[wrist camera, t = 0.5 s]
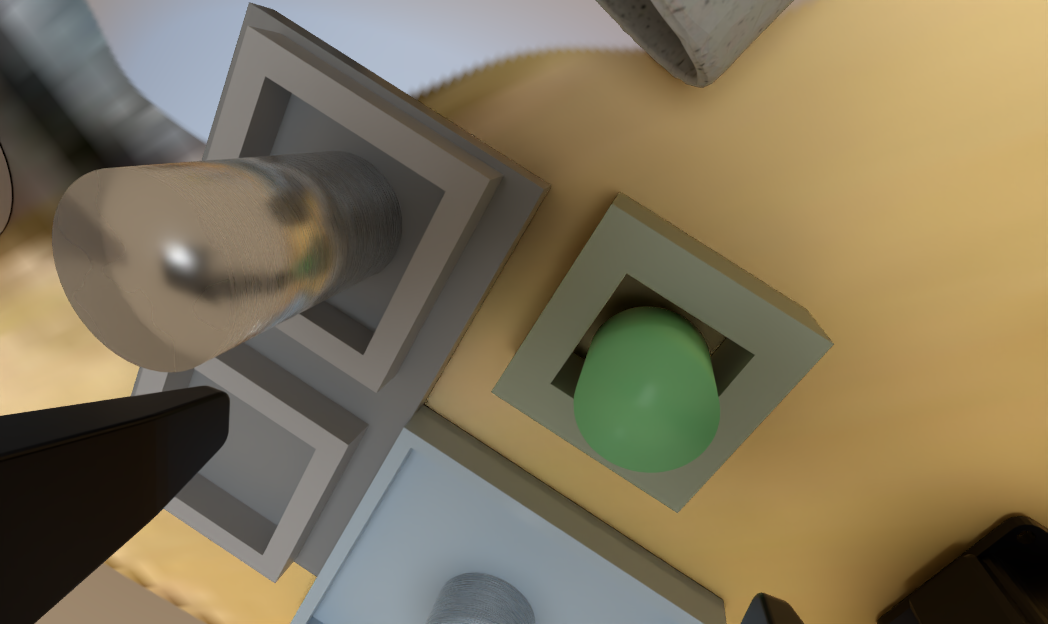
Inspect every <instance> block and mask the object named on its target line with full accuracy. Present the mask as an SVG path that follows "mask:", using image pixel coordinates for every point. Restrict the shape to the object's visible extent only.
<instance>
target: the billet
mask: <svg viewBox="0 0 1048 624" xmlns="http://www.w3.org/2000/svg"><path fill="white" fill-rule="evenodd" d="M425 624H535V616H534V612H533V610H532V607H531V605H530V604H529V602H528V601H527V599H526V598H525V597H524V595H523V594H522V593H521V592H520V591H519V590H518V589H516V588H515V587H514V586H513V585H511V584H510V583H508V582H506V581H505V580H503V579H501V578H498V577H496V576H493V575H489V574H485V573H475V572H472V573H464V574H460V575H457V576H455V577H453V578H451V579H450V580H449V581H447V582H446V583H445V585H444V586H443V587H442V589H441V591H440V593H439V595H438V597H437V599H436V601H435V603H434V605H433V608H432V610H431V612H430V614H429V616H428V618H427V620H426V622H425Z"/></svg>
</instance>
